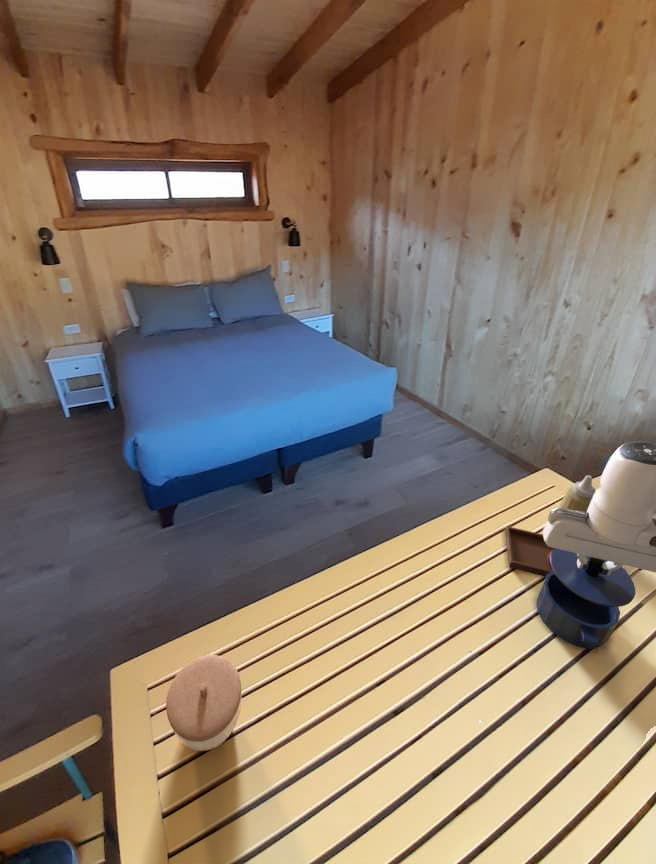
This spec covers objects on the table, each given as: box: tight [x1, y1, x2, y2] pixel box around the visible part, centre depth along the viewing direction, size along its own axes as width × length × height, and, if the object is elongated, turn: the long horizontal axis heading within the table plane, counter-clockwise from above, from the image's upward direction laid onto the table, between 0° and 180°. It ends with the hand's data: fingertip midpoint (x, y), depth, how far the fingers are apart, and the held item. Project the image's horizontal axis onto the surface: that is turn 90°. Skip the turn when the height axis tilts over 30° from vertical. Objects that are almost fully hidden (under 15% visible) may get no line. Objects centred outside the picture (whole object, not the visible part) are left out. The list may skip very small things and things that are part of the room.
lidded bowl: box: [165, 654, 242, 752], centre depth 70 cm, size 13×13×11 cm
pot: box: [536, 571, 621, 650], centre depth 87 cm, size 13×19×7 cm
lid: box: [550, 548, 636, 608], centre depth 81 cm, size 14×14×5 cm
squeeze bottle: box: [557, 474, 596, 512], centre depth 107 cm, size 8×8×18 cm
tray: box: [504, 525, 555, 578], centre depth 101 cm, size 17×12×2 cm
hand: (592, 569), depth 81 cm, fingers closed on lid, 2 cm apart
